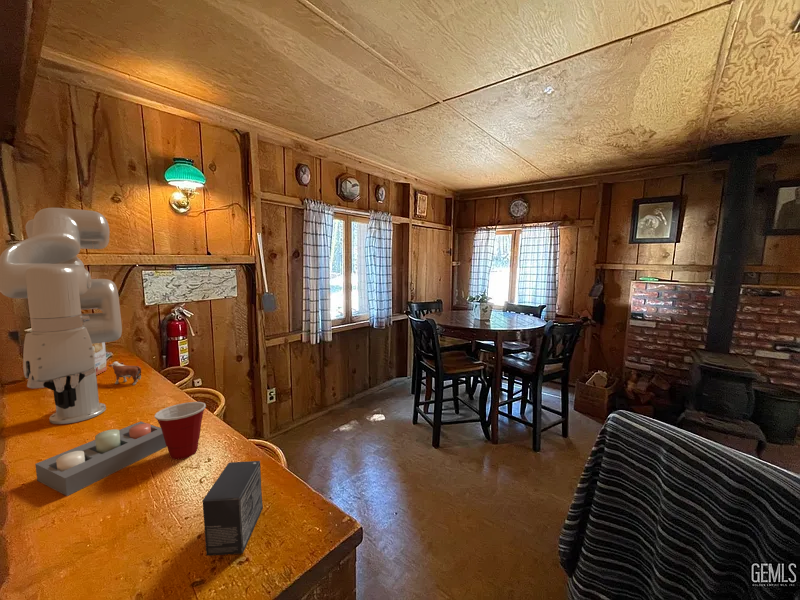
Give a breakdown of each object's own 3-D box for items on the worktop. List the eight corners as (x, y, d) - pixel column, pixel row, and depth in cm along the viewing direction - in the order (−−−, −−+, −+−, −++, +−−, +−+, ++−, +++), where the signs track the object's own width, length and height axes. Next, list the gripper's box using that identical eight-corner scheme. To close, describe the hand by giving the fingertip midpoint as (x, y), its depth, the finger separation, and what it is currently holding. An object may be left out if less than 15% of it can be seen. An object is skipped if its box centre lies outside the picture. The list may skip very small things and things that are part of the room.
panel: (37, 480, 73) (35, 463, 72) (141, 434, 92) (140, 421, 92) (67, 496, 68) (65, 478, 68) (170, 444, 88) (169, 430, 87)
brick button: (126, 447, 85) (125, 429, 85) (145, 438, 89) (143, 422, 89) (137, 451, 84) (135, 433, 83) (155, 442, 88) (154, 425, 87)
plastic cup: (202, 436, 92) (199, 395, 90) (213, 453, 84) (211, 408, 83) (154, 452, 84) (150, 407, 83) (162, 472, 77) (158, 423, 75)
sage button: (92, 455, 79) (90, 436, 78) (114, 445, 83) (112, 427, 82) (103, 459, 77) (101, 440, 77) (125, 449, 81) (123, 431, 81)
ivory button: (54, 479, 72) (51, 459, 72) (79, 468, 77) (77, 449, 76) (65, 485, 71) (62, 464, 70) (90, 473, 75) (88, 453, 74)
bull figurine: (117, 379, 133) (116, 359, 132) (145, 382, 130) (143, 362, 129) (106, 383, 129) (104, 363, 128) (134, 386, 126) (132, 365, 125)
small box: (230, 509, 66) (227, 460, 64) (263, 508, 66) (262, 459, 65) (203, 557, 55) (199, 499, 54) (243, 554, 56) (241, 497, 55)
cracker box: (85, 382, 129) (80, 329, 127) (67, 383, 128) (61, 330, 125) (108, 370, 143) (104, 323, 140) (92, 371, 141) (87, 323, 139)
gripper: (91, 317, 78) (98, 391, 80) (-4, 328, 64) (7, 417, 67) (110, 320, 75) (116, 396, 77) (14, 333, 61) (26, 425, 64)
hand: (66, 406), depth 72 cm, fingers closed
